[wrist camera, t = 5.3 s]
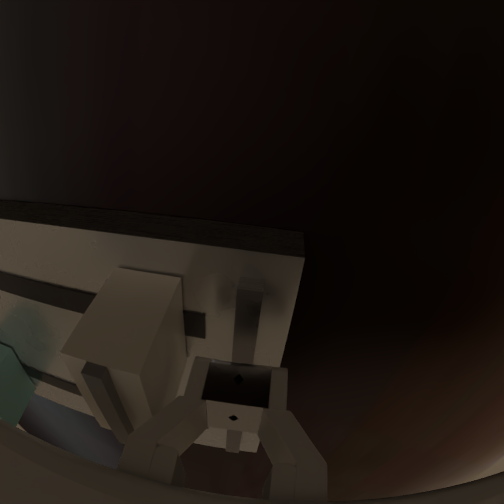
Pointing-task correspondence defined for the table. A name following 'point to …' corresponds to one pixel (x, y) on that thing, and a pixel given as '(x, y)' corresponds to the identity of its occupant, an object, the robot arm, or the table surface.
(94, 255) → the console
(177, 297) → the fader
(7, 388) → the fader
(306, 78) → the table surface
